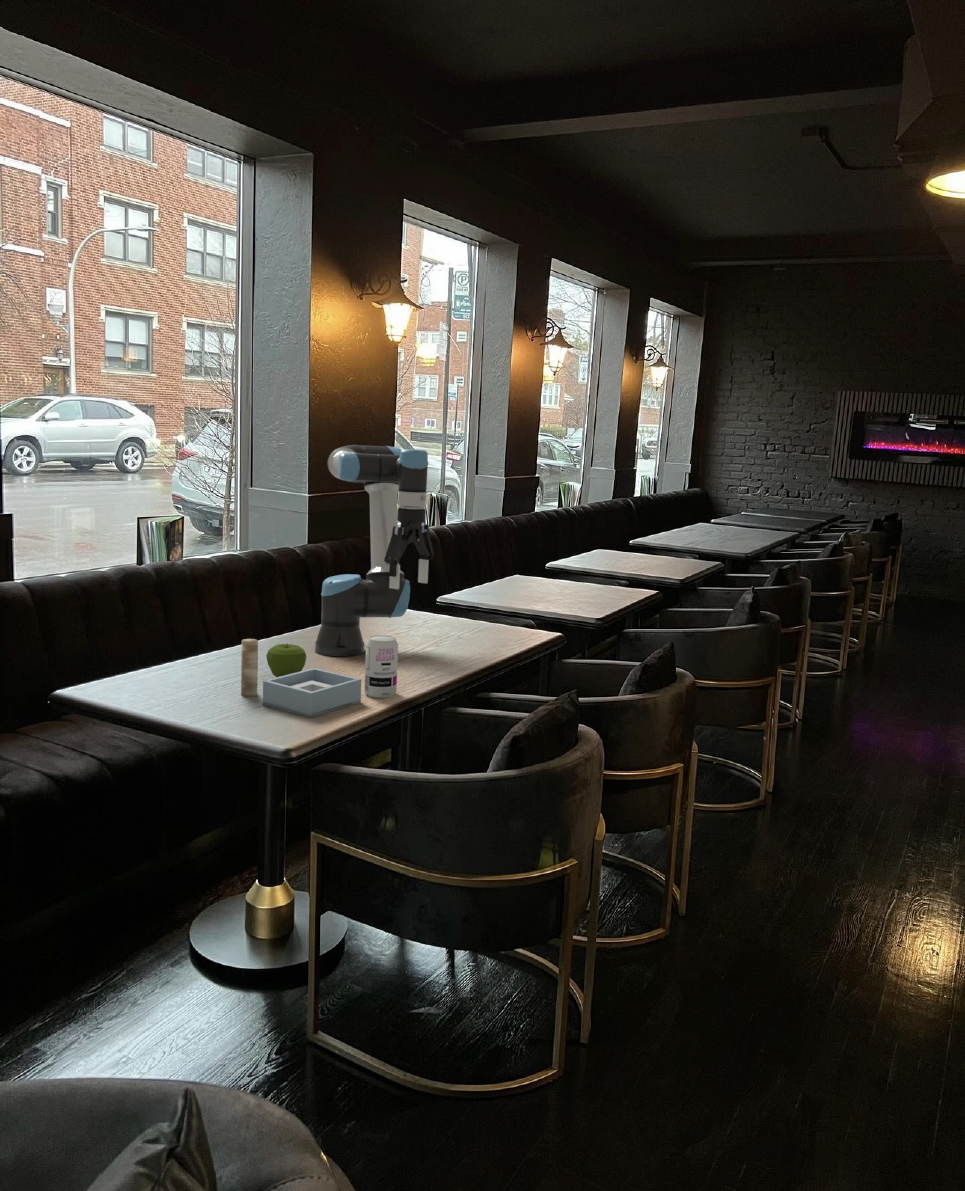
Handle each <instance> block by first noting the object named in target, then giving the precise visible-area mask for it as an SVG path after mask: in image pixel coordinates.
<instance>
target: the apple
mask: <svg viewBox="0 0 965 1191" xmlns="http://www.w3.org/2000/svg"><path fill="white" fill-rule="evenodd" d="M265 656H266V660H267V665H268V667H269V669H270V671H271V673H272V675H273V676H274V677H275V678H277V677H281V676H285V675H289V674H293V673H297V672H301V671H303V669H304V668H305V665H306V662H307V658H308V657H307V653H306V651H305V649H304V648H302V647H301V646H299V645H297V644H290V643H289V644H288V643H281V644H279V643H278V644H276V645H274V646H272V647H271V648H269V649H268V651H267V653H266V655H265Z"/></svg>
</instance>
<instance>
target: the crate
mask: <svg viewBox="0 0 965 1191" xmlns="http://www.w3.org/2000/svg"><path fill="white" fill-rule="evenodd" d="M361 702H362V678H358V677H353V676H349V675H346V674H342V673H336V672H334V671H333V672H332V671H328V670H323V669H320V668H316V667H314V668H310V669H309V668H308V669H304V670H302V671H301V672H297V673H293V674H289V675H285V676H281V677H274V678H270V679H266V680H265V679H264V680H263V681H262V705H263V706H266V707H271V708H274V709H278V710H281V711H285V712H288V713H291V714H296V715H300V716H303V717H306V718H315V717H317V716H321V715H325V714H329V713H331V712H334V711H336V710H340V709H343V708H347V707H350V706H353V705H356V704H360V703H361Z"/></svg>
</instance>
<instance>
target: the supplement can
mask: <svg viewBox="0 0 965 1191" xmlns="http://www.w3.org/2000/svg"><path fill="white" fill-rule="evenodd" d="M398 655H399V643H398V642H397V638H396V637H394V636H392V635H382V634H379V635H371V636H369V637H368V639H367V641H366V643H365V665H364V666H365V667H364V668H365V669H364V693H365V695H367V696H368V697H369V698H375V699H387V698H391V697H394V696H395V695H396V693H397V688H398V687H397V686H398V683H397V682H398V662H399V660H398V659H399V658H398V657H399V656H398Z"/></svg>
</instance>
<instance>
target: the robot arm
mask: <svg viewBox="0 0 965 1191" xmlns="http://www.w3.org/2000/svg"><path fill="white" fill-rule="evenodd" d="M428 456H429V454H428V452H427V451H426V450H425V449H416V448H414V449H412V448H403V449H401V448H399V447H396V446H389V445H363V444H362V445H361V444H360V445H359V444H351V445H349V444H348V445H345V446H341V447H338V448H335V449H333V450H332V451H331V453H330V454H329V456H328V458H327V462H326V463H327V464H326V466H327V469H328V471H329V472H330V474H331V475H332V476H333V477H334V478H336V479H339V480H341V481H345V482H348V483H349V482H350V483H357V484H358V483H359V484H360V483H361V484H364V491H366V492H367V493H368V495H369V524H370V525H369V527H370V528H369V529H370V532H369V533H370V570H368V572H367V573H366V579H362V578H361V575H360V574H349V573H347V574H338V575H334V576H333V575H332V576H329V577H327V578H325V579H324V580H323V582H322V586H321V593H320V595H321V615H320V616H321V620H320V621H321V624H320V629H319V630H318V633H317V634H318V635H317V638H316V641H315V643H314V651H315V652H316V653H318V654H320V655H325V656H330V657H332V656H333V657H352V656H357V655H358V656H359V655H361V654H364V653H365V651H366V643H365V642H364V639H363V635H362V632H361V628H360V619H361V618H388V619H391V618H401V617H404V615H405V614H406V612H407V611H408V606H409V601H410V597H411V596H410V594H411V584H410V582H411V581H410V580H408V579H407V578H406V579H405V573H404V572H403V571H402V570H401V564H400V560H401V558H402V557H403V555H404V552H405V551H406V548H407V546H408V545H409V544H412V543H413V544H414V545H415V548H416V550H417V553H418V555H419V556H420V558H419V559H418V574H417V575H418V576H417V582H418V583H420V584H428V581H429V569H430V568H429V567H430V563H429V561H430V560H432V561H433V559H434V556H435V552H434V548H433V543H432V540H431V536H430V525H429V524H428V523H427V524H426V523H425V522H426V515H427V513H426V511H427V510H426V509H425V507H426V505H427V487H428V486H427V485H428V468H429V461H428V460H429V459H428V458H429V457H428ZM398 506H399V507H398ZM398 522H399V523H400V526H399V525H398V524H399V523H398Z"/></svg>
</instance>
